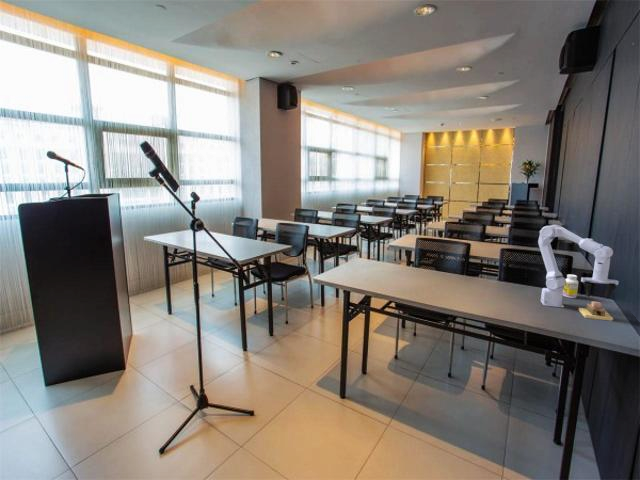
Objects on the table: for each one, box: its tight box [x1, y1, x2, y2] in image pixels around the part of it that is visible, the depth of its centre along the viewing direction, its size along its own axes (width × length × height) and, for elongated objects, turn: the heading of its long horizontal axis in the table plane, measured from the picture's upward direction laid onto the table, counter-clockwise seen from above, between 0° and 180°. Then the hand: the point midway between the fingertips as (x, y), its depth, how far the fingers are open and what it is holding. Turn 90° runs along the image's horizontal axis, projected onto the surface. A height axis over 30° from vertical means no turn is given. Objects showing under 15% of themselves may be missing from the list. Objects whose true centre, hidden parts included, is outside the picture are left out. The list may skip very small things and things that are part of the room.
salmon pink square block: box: [590, 300, 602, 308], centre depth 170 cm, size 3×3×2 cm
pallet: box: [586, 303, 607, 316], centre depth 171 cm, size 5×8×3 cm, turn 158°
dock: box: [578, 307, 614, 322], centre depth 171 cm, size 11×10×2 cm
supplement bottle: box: [563, 273, 579, 299], centre depth 197 cm, size 7×7×13 cm
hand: (597, 297), depth 169 cm, fingers open, 7 cm apart
